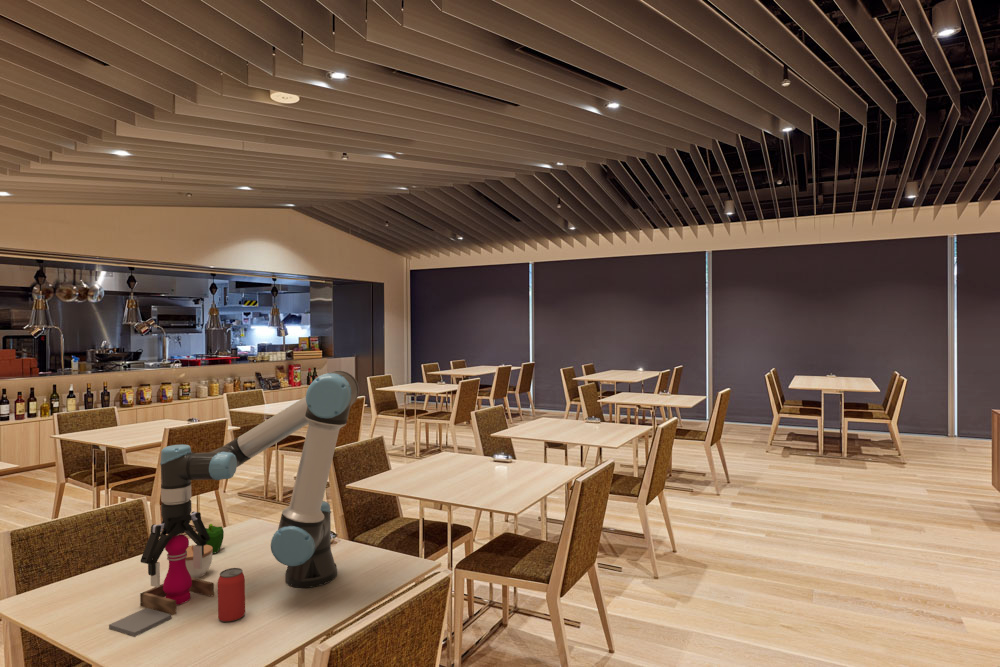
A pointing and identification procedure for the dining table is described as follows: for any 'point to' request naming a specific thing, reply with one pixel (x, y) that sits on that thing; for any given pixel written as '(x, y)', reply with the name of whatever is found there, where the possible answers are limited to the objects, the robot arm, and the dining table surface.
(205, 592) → the u-shaped frame
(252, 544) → the dining table surface
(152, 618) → the coaster
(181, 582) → the pepper mill
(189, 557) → the lidded jar
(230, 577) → the beer can
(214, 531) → the bell pepper
